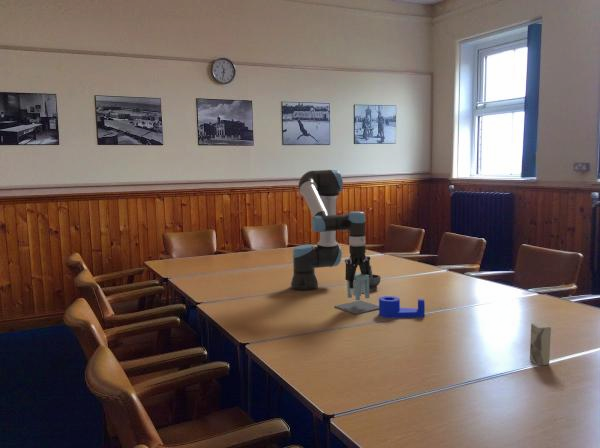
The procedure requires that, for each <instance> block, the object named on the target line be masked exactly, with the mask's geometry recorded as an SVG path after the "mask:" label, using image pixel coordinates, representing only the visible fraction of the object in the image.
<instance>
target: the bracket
mask: <svg viewBox="0 0 600 448" xmlns="http://www.w3.org/2000/svg"><path fill="white" fill-rule="evenodd" d="M400 300H401V299H400V297H398V296H392V295H391V296H390V295H387V296H386V295H385V296H381V297H379V298H378V306H379V310H378V313H379V314H378V315H379V317H381V318H385V319H386V318H387V319H402V318H425V316H426V315H425V307H426V305H425V299H424V298H417V308H410V307H401V304H400V303H401V301H400Z"/></svg>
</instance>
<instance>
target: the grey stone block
mask: <svg viewBox="0 0 600 448" xmlns="http://www.w3.org/2000/svg"><path fill="white" fill-rule="evenodd" d="M530 324H531V325H530V342H529V343H530V345H529V346H530V347H529V348H530V349H529V360H530V361H531V362H532V363H534V365H536V366H549V365H550V359H551V357H550V353H551V335H552V326H551V327H550V326H549V325H547V324H546V323H544V322H535V323H533V322H532V323H530Z"/></svg>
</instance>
